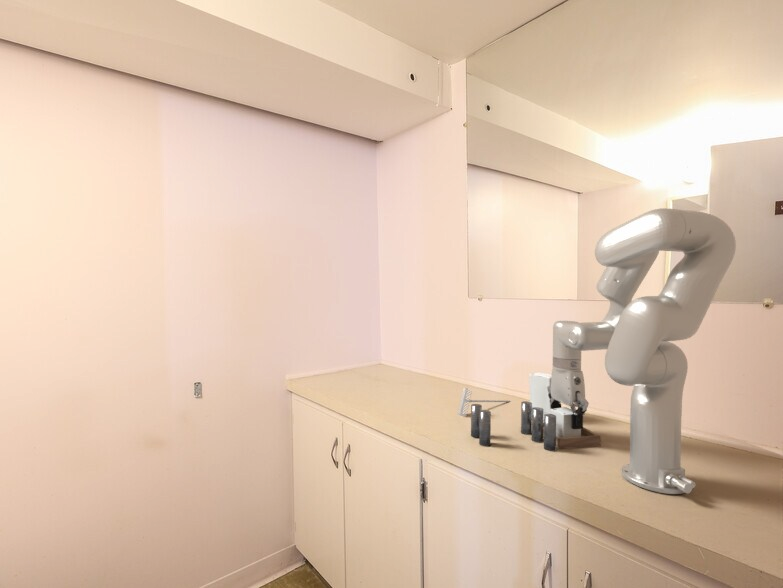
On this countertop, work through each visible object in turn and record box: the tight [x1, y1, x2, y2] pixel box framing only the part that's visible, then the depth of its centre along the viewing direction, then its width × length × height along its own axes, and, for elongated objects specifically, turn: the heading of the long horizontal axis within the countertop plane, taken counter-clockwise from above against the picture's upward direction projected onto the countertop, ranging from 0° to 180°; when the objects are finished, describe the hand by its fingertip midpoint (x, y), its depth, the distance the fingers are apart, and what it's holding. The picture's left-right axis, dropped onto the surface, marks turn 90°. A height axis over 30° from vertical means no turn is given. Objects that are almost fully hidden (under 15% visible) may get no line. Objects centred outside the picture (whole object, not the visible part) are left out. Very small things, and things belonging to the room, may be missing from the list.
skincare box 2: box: [550, 406, 581, 438], centre depth 113 cm, size 6×6×7 cm
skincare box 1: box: [528, 371, 562, 422], centre depth 130 cm, size 8×6×15 cm
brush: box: [457, 387, 511, 418], centre depth 140 cm, size 4×27×9 cm, turn 126°
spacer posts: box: [470, 400, 557, 452], centre depth 109 cm, size 15×19×9 cm
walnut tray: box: [543, 422, 602, 449], centre depth 112 cm, size 13×13×3 cm
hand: (565, 422), depth 112 cm, fingers open, 9 cm apart
